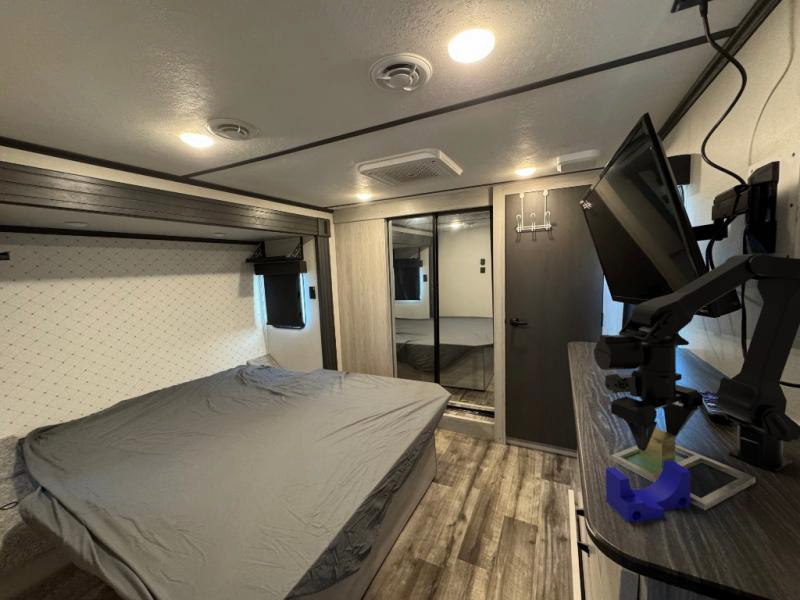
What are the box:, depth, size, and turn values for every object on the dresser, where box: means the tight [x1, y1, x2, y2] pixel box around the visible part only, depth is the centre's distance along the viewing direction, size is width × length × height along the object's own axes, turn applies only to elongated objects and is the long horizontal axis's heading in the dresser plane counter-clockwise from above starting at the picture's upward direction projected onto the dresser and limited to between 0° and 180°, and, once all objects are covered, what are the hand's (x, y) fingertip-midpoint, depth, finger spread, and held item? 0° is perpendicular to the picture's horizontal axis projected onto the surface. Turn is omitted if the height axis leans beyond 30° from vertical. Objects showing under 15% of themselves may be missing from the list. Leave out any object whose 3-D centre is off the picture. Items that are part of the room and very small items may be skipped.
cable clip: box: [605, 460, 691, 523], centre depth 50 cm, size 12×4×6 cm, turn 95°
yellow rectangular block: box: [640, 427, 676, 468], centre depth 61 cm, size 4×4×6 cm
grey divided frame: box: [610, 444, 756, 511], centre depth 58 cm, size 15×15×1 cm
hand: (656, 443), depth 61 cm, fingers open, 9 cm apart
